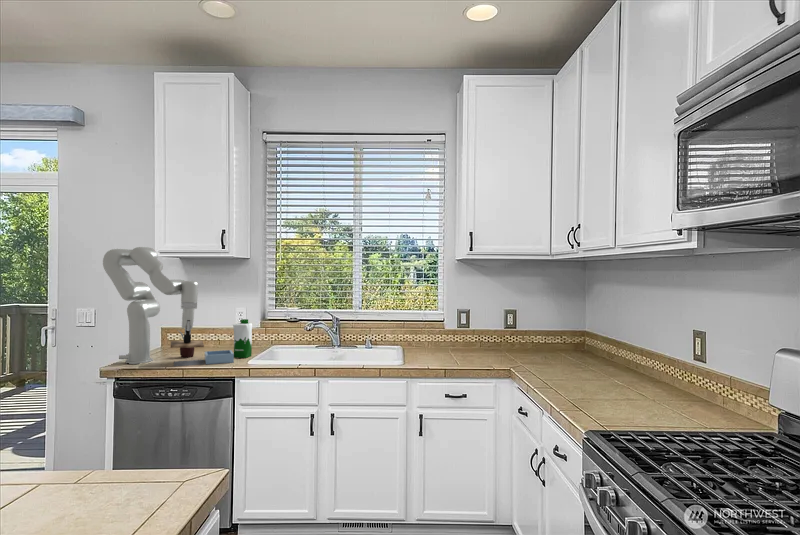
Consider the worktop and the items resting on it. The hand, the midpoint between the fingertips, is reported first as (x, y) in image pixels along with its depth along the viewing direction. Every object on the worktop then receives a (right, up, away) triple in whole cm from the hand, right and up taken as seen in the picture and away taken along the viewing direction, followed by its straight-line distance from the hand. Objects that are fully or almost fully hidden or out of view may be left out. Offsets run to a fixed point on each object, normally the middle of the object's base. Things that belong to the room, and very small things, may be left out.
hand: (187, 342), depth 256 cm
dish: (+14, -11, +4) cm, 19 cm away
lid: (0, -1, 0) cm, 1 cm away
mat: (+1, -11, 0) cm, 11 cm away
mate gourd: (-7, -11, +16) cm, 21 cm away
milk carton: (+21, -11, +21) cm, 32 cm away
